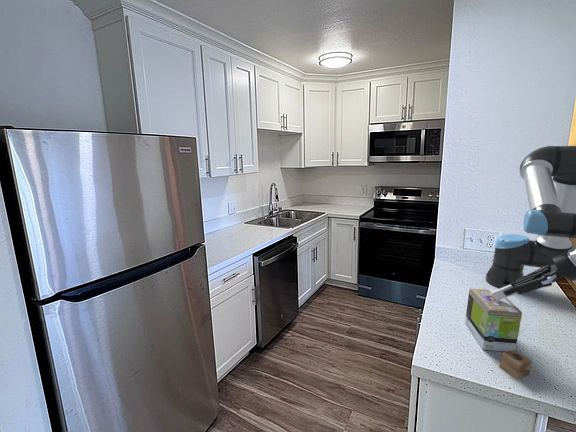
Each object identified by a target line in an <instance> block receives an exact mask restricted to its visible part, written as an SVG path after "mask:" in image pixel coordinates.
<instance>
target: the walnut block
mask: <svg viewBox="0 0 576 432" xmlns="http://www.w3.org/2000/svg"><path fill="white" fill-rule="evenodd" d="M500 357H501V358H500V363H499V368H501V370H503V371H505V372H506V373H507V374H509V376H511V377H513V378H514V379H515V380H519V379H522V378H524V377H527V376H529V375H530V372H531V367H532V364H533V363H532V361H533V360H531V359H530V358H529V357H527V356H525V355H524V354H522V353H521V352H519V351H517V350H516V349H514V350H511V351H508V352H506V351H503V352H502V353H501V356H500Z"/></svg>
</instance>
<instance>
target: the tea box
mask: <svg viewBox="0 0 576 432" xmlns="http://www.w3.org/2000/svg"><path fill="white" fill-rule="evenodd" d="M496 290H497V289H486V288H483V289H482V288H469V291H468V297H467V305H466V312H465V313H466V314H465V320H464V321H465V322H464V323H465V325H466V326H467V328H468V329H469V331H470V333H471V334H472V335H473V337H474V338H475V341H476V342H477V343H478V344H479V346H480V347H481V349H482V350H486V351H494V352H495V351H496V352H508V351H511V350H514V349H515V350H516V348H517V345H518V343H517V342H518V337H519V333H520V327H521V321H522V316H523V312H522V310H521V309H519V308H518V307H517V306H516V305H515V304H514V303H513V302H512V301H511V300H510V299H509V298H508V297H506V298H503V299H501V300H497V299H496V298H495V297H494V295H493V294H492V292H493V291H496Z"/></svg>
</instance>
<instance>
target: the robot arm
mask: <svg viewBox="0 0 576 432" xmlns="http://www.w3.org/2000/svg"><path fill="white" fill-rule="evenodd" d="M519 174H520V177H521V178H522V179H523V180H524V184H525V188H526V189H525V190H526V196H527V200H528V205H529V210H527V211H526V212H525V213H524V217H523V222H522V223H523V225H522V226H523V231H524V232H525V233H527V234H532V235H537V236H536V238H535V240H531V239H530V238H529V237H528V236H526V235H521V234H515V233H514V234H513V233H512V234H511V233H510V234H502V235H500V236H498V237H497V238H496V241H495V245H494V253H493V259H492V264H491V266H490V268H489V269H488V271H487V272H486V274H485V281H486V282H487V283H488V284H489V285H491V286H493V287H496V288H499V289H495V290H496V291H493V292H492V294H493V295H494V297H495V298H496V299H497V300H501V299H503V298H508V297H511V296H513V295H516V294H518V295H522V294H526V293H530V292H532V291H536V290H539V289H541V288H542V289H543V288H547V287H551V286H553V283H556V282H558V281H559V280H560V279H561V278H563V277H565V278H566V279H567V280H569V281H571V282H572V281H573V282H574V281H575V280H576V247H575V246H574V245H573V243H572V241H571V240H570V239H576V145H548V146H543V147H539V148H537V149H534V150H533V151H531V152H530V153H529V154H527V155H526V156H525V157H524V159H523V160H522V161H521V163H520V165H519ZM554 183H555V184H554ZM525 266H526V267H532V268H533V267H534V268H538V269H535V270H533V271H531V272H530V273H528V274H526V275H524V267H525Z"/></svg>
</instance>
